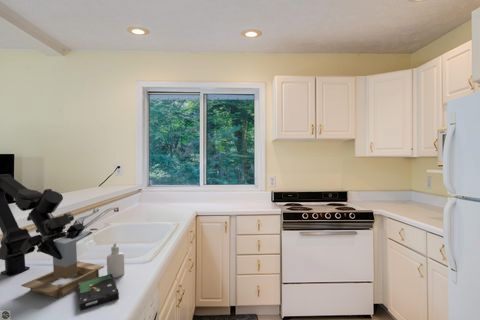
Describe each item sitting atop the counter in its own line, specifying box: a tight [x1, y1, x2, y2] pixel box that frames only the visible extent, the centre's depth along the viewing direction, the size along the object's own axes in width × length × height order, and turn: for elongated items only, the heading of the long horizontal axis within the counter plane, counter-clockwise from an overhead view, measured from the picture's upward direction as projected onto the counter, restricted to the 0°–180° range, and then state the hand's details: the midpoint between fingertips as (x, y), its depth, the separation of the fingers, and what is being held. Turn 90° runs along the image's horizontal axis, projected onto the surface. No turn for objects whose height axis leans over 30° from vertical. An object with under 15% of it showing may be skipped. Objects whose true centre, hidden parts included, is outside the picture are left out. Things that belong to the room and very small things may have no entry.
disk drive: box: [77, 274, 120, 312], centre depth 82 cm, size 10×3×15 cm
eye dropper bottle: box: [106, 242, 126, 279], centre depth 94 cm, size 4×6×12 cm
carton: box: [20, 260, 105, 299], centre depth 89 cm, size 14×19×3 cm
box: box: [52, 238, 78, 280], centre depth 89 cm, size 6×4×12 cm, turn 69°
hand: (67, 256), depth 88 cm, fingers closed on box, 4 cm apart
